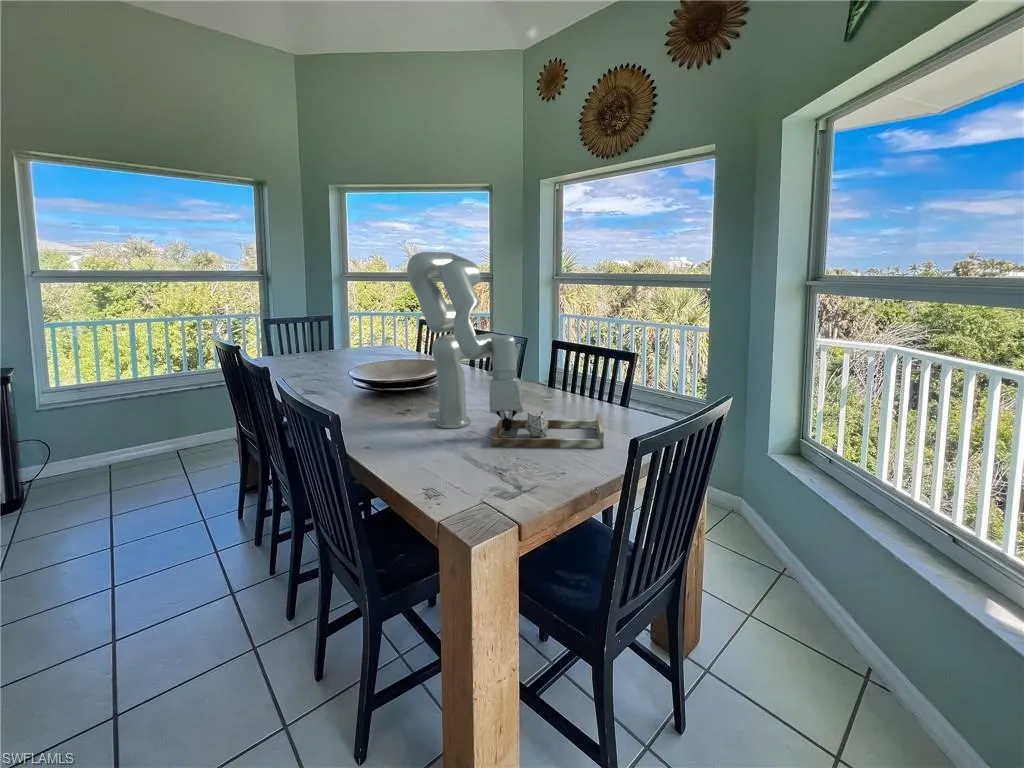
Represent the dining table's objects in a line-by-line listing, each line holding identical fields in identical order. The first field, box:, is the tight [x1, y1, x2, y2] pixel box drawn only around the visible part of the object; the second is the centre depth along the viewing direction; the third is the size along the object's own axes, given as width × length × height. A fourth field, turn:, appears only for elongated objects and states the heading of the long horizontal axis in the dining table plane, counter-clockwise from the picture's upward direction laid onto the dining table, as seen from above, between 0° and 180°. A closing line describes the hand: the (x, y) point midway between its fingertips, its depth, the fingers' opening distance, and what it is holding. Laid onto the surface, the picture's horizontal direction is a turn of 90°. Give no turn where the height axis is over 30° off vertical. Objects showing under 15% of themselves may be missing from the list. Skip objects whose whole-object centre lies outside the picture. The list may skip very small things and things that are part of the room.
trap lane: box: [490, 412, 605, 449], centre depth 161 cm, size 34×20×5 cm, turn 84°
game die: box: [522, 410, 552, 438], centre depth 161 cm, size 9×8×10 cm
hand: (507, 430), depth 162 cm, fingers closed
